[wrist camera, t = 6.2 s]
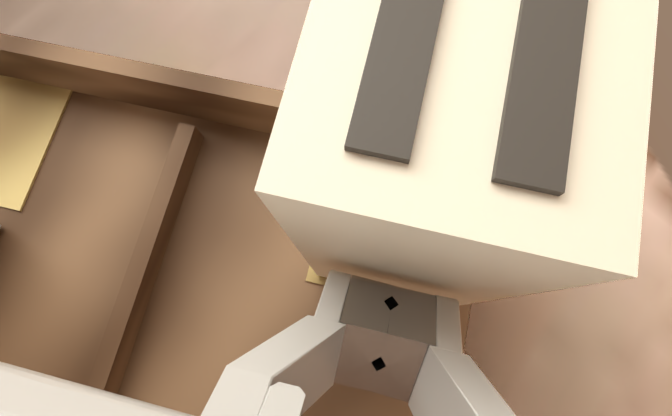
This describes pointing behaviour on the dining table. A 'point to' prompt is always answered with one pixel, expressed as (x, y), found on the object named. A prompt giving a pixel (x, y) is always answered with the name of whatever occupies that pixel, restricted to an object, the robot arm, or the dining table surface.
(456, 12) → the key two
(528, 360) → the dining table surface
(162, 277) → the rail board
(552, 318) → the dining table surface
